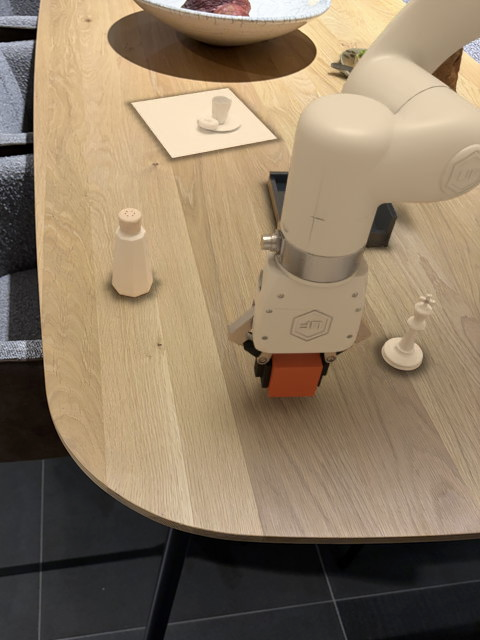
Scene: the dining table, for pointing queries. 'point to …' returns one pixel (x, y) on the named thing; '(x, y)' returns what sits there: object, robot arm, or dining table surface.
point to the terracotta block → (294, 374)
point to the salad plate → (348, 60)
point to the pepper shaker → (131, 256)
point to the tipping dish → (380, 225)
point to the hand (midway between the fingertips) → (288, 376)
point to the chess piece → (409, 339)
